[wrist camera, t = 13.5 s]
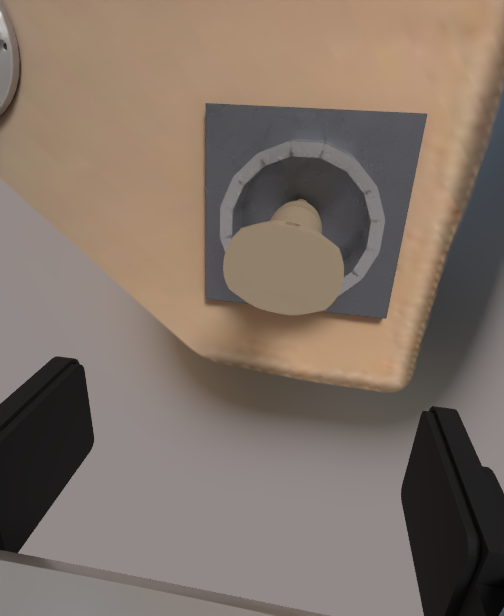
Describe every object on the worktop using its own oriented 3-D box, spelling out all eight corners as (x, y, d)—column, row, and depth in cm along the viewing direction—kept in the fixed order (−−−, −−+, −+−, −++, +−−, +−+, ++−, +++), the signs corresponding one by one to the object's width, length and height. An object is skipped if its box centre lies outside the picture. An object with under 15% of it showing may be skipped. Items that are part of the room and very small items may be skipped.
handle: (329, 252, 37) (331, 325, 23) (257, 236, 37) (217, 299, 23) (343, 196, 35) (354, 240, 21) (267, 181, 35) (230, 214, 21)
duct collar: (208, 294, 41) (193, 316, 37) (208, 103, 34) (190, 101, 30) (384, 313, 39) (392, 339, 35) (424, 114, 32) (440, 112, 28)
